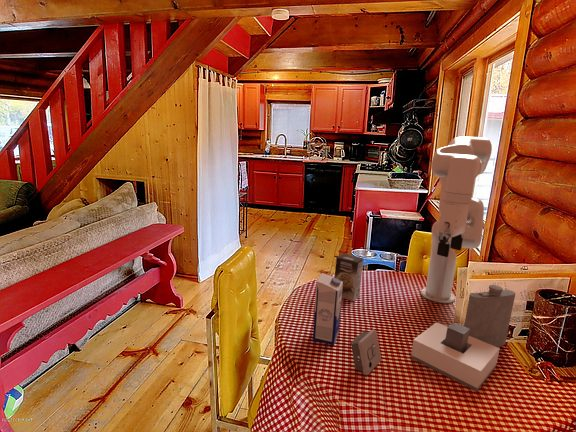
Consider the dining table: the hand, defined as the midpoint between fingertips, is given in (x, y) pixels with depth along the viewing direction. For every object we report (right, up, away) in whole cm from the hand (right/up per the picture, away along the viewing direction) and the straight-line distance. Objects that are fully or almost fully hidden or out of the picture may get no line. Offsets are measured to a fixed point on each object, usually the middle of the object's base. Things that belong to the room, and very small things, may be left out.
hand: (449, 252), depth 110 cm
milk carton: (-38, -27, +2) cm, 47 cm away
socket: (-3, -31, -8) cm, 32 cm away
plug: (-3, -30, -9) cm, 31 cm away
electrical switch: (-29, -30, -11) cm, 43 cm away
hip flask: (+11, -29, +1) cm, 32 cm away
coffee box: (-27, -21, +31) cm, 46 cm away
